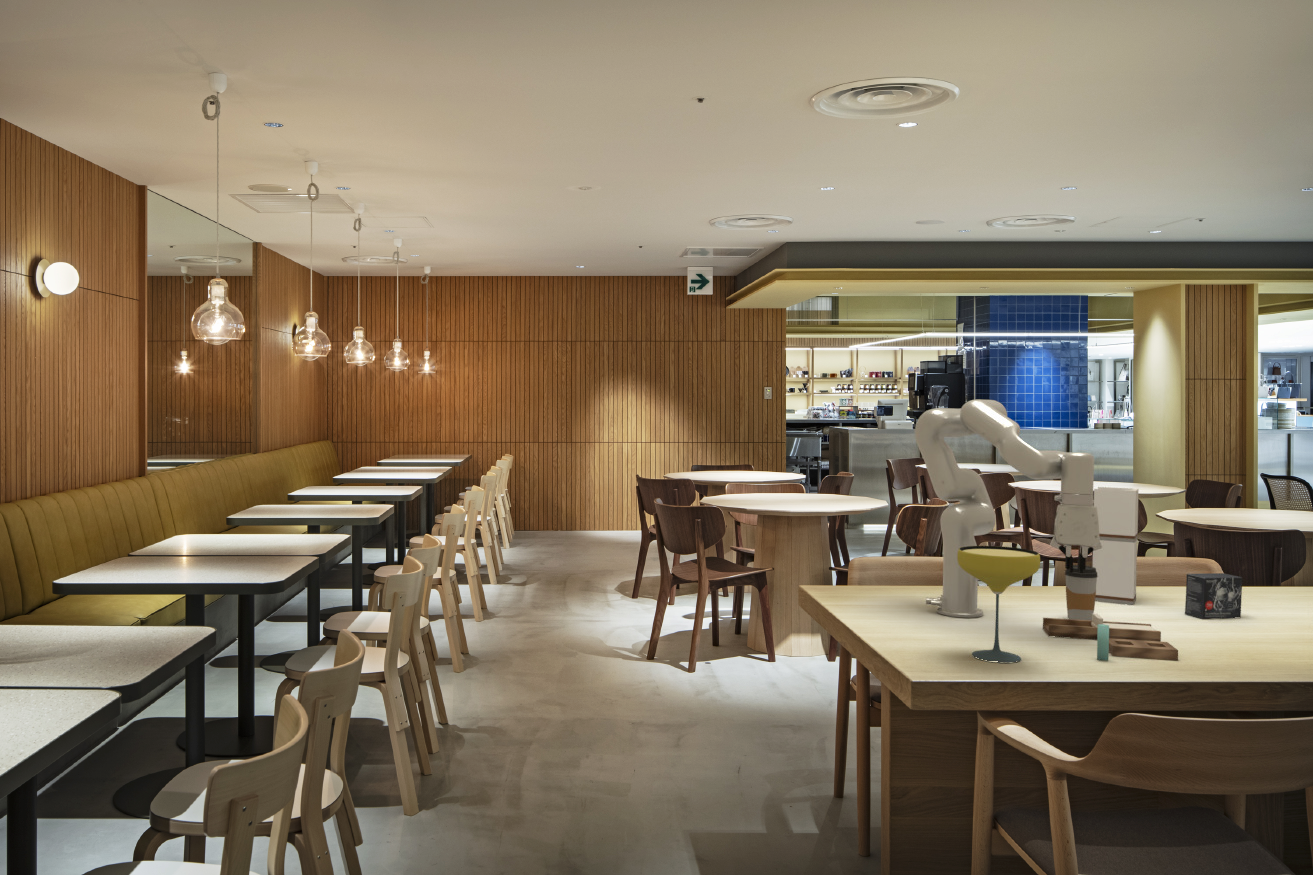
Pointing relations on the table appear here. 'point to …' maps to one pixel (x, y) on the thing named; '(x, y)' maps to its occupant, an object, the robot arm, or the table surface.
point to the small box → (1213, 595)
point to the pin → (1103, 642)
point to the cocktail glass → (998, 580)
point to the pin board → (1142, 649)
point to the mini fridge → (1116, 545)
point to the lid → (1099, 620)
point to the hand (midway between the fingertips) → (1075, 571)
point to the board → (1095, 630)
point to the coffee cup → (1081, 593)
